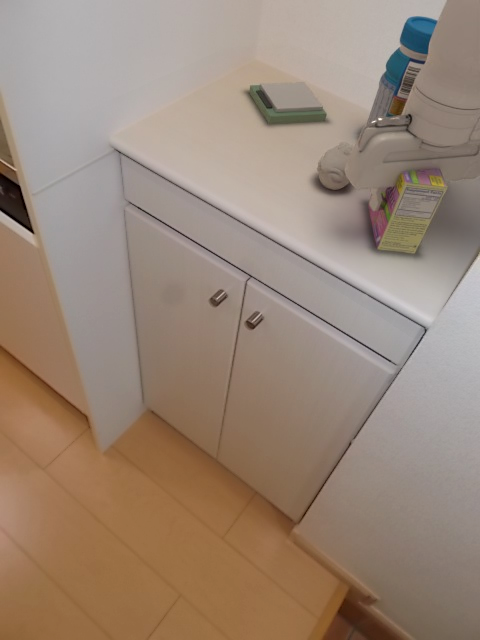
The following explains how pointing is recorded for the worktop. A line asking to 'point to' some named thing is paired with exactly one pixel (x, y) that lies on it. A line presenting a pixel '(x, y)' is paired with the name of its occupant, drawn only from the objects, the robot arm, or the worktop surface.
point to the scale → (287, 102)
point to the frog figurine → (334, 166)
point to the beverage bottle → (403, 68)
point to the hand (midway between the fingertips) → (400, 205)
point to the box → (408, 210)
